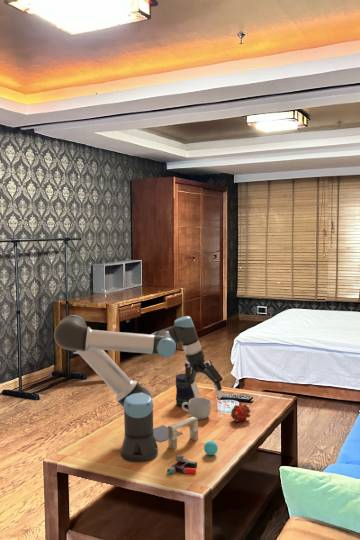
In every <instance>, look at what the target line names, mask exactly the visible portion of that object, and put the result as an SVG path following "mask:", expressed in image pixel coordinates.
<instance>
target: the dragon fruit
mask: <svg viewBox="0 0 360 540" xmlns="http://www.w3.org/2000/svg"><path fill="white" fill-rule="evenodd" d="M250 413H251V410H250V407H249V406H248V405H247V404H246V403H244V404H243V403H242V404H241V403H238V405H237V404H235V405H234V406H233V408H232V409H231V413H230V417H231V418H232V419H233V420H234V423H240V422H241V421H242V422H243V423H244V422H246V421H247V418H250V417H251V414H250Z"/></svg>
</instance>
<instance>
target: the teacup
mask: <svg viewBox="0 0 360 540" xmlns="http://www.w3.org/2000/svg"><path fill="white" fill-rule="evenodd" d="M185 404H187V405H188V407H189V408H188V409H187V408H184V405H185ZM211 407H212V401H211V400H210V399H209V398H206V397H202V396H201V397H200V396H198V397H197V398H192V399H190V400H189V403H188V402H184V403H183V404H182V408H181V409H182V410H183V411H184V412H186V413H187V415H190V416H191V417H195V418H198V420H205V419H207V418H208V417H209V416H210V415H211V409H212V408H211Z"/></svg>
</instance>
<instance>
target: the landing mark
mask: <svg viewBox="0 0 360 540" xmlns="http://www.w3.org/2000/svg"><path fill="white" fill-rule="evenodd" d="M182 434H183V432H181V431H179V430H177V437H178V436H179V435H182ZM153 435H154V438H155V441H156V442H160V443H162V442H164V441H168V426H166V425H159V426H157V427H153Z"/></svg>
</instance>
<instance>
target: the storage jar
mask: <svg viewBox="0 0 360 540" xmlns="http://www.w3.org/2000/svg"><path fill="white" fill-rule="evenodd" d="M195 379H196V378H195ZM195 379H194V380H195ZM194 382H196V381H194ZM175 389H176V392H175V393H176V394H175V405H176V407H177V408H180V409H182V404H183V403H184V402H188V403H189V400H190V399H192V398H195V395H194V393H193V390H192V389H191V386H190V384H189V383H188V382H187V383H186V382H185V373H179V374H176V375H175ZM184 408H185V409H189V407H188V405H187V404H185V405H184Z"/></svg>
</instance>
